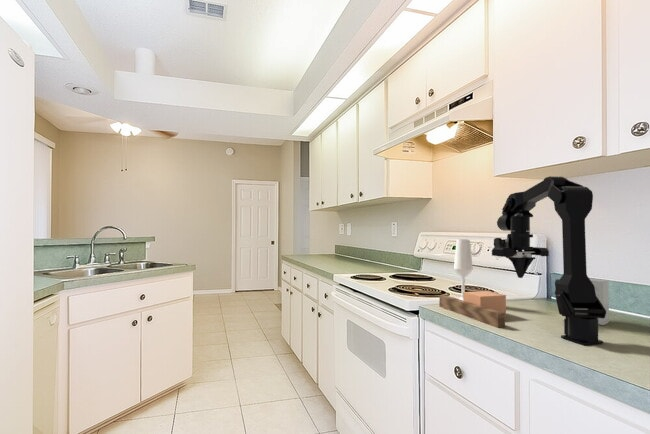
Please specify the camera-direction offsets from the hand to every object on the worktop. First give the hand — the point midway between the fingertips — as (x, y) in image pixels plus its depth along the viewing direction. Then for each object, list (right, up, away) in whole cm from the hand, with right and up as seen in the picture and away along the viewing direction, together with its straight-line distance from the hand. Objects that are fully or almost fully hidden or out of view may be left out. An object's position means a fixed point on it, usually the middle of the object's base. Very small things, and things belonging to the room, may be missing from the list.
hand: (520, 277), depth 119 cm
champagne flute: (-13, -13, +17) cm, 24 cm away
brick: (-13, -12, -2) cm, 18 cm away
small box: (+17, -12, -9) cm, 23 cm away
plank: (-19, -12, -4) cm, 23 cm away
